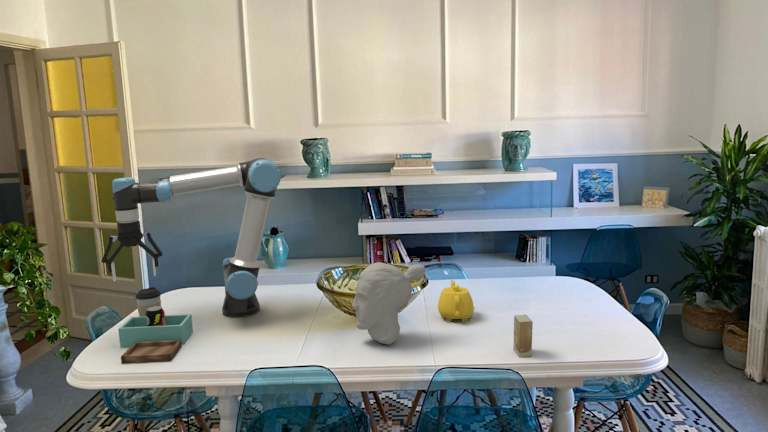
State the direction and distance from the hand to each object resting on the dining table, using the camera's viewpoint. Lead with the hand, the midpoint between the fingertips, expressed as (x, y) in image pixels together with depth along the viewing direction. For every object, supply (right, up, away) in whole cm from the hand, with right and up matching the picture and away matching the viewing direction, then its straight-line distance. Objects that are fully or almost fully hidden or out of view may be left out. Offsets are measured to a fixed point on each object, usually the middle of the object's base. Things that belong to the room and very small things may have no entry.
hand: (135, 278), depth 205 cm
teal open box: (+8, -22, 0) cm, 24 cm away
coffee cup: (+1, -21, +13) cm, 24 cm away
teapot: (+119, -17, +14) cm, 121 cm away
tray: (+12, -25, -14) cm, 31 cm away
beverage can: (+8, -23, 0) cm, 24 cm away
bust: (+93, -21, -7) cm, 96 cm away
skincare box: (+136, -22, -21) cm, 140 cm away
